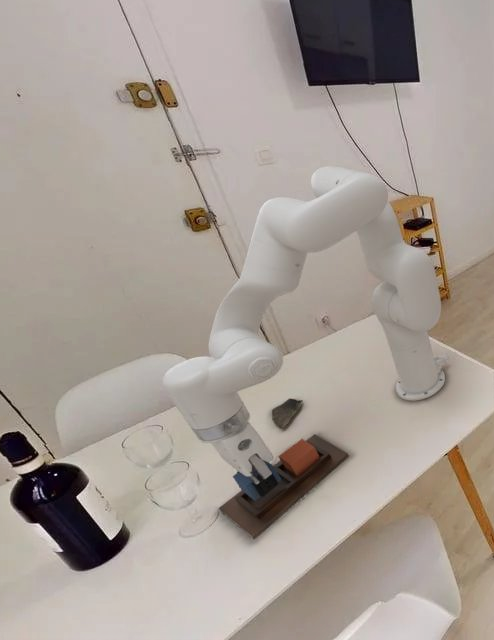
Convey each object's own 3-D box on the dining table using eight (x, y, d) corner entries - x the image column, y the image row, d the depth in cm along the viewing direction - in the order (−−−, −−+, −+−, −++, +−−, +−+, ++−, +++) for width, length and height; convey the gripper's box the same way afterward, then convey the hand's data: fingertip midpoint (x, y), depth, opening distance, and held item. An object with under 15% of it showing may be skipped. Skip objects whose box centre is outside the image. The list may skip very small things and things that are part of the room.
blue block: (268, 470, 84) (259, 456, 82) (281, 479, 82) (273, 465, 80) (242, 490, 80) (232, 476, 78) (255, 500, 78) (245, 486, 76)
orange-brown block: (309, 452, 91) (301, 438, 89) (321, 460, 89) (314, 446, 87) (286, 469, 88) (278, 456, 85) (298, 479, 86) (290, 465, 83)
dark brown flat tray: (316, 436, 96) (312, 429, 95) (349, 456, 91) (345, 448, 90) (220, 511, 81) (214, 503, 80) (254, 539, 76) (248, 531, 75)
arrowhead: (280, 433, 97) (277, 429, 97) (268, 412, 103) (266, 408, 103) (312, 416, 102) (310, 412, 101) (299, 397, 108) (297, 393, 107)
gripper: (270, 421, 72) (306, 486, 81) (220, 391, 79) (258, 453, 88) (222, 454, 66) (266, 520, 75) (172, 418, 73) (218, 482, 82)
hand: (261, 483), depth 81 cm, fingers closed on blue block, 4 cm apart
